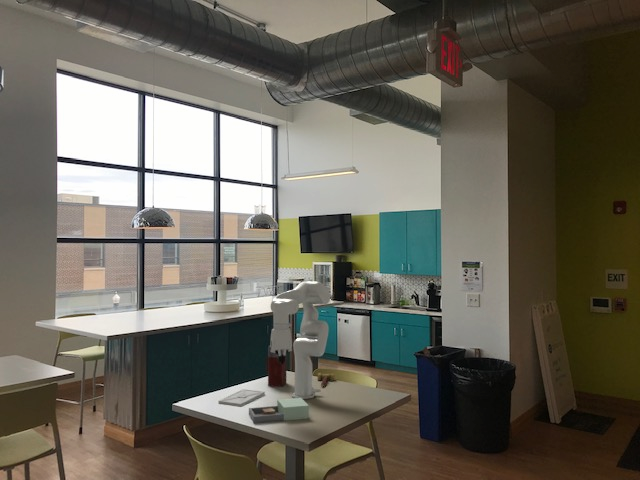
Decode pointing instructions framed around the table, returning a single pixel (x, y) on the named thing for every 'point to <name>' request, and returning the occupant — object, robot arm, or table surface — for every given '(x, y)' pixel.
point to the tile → (268, 411)
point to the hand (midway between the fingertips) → (281, 363)
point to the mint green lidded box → (293, 408)
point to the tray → (259, 418)
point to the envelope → (241, 397)
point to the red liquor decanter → (275, 369)
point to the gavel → (325, 378)
